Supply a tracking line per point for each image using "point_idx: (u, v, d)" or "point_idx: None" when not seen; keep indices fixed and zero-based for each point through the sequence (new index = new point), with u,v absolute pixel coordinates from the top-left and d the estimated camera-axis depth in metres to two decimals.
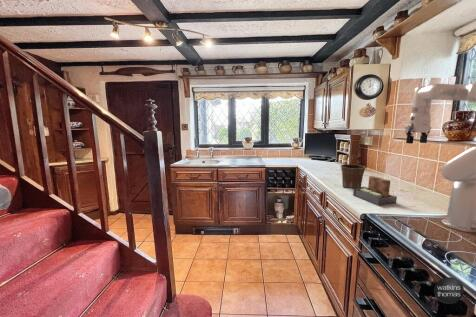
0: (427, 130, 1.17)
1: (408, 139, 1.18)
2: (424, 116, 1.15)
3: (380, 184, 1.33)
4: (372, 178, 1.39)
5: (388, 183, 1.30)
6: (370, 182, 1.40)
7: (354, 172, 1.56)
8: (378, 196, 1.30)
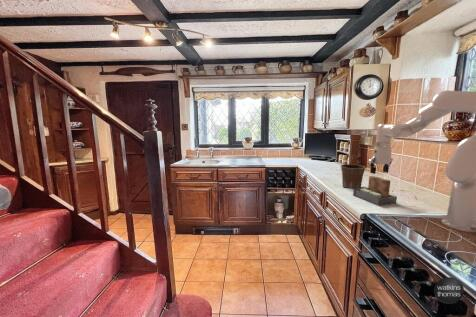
0: (388, 162, 1.32)
1: (371, 170, 1.33)
2: (384, 150, 1.30)
3: (380, 184, 1.33)
4: (372, 178, 1.39)
5: (388, 183, 1.30)
6: (370, 182, 1.40)
7: (354, 172, 1.56)
8: (378, 196, 1.30)
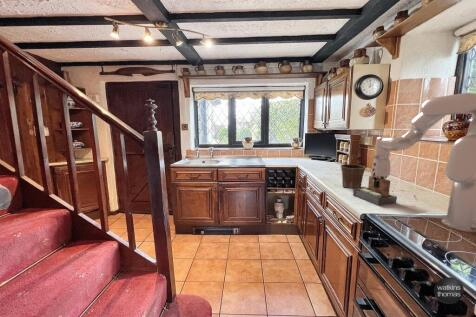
0: (387, 174, 1.33)
1: (375, 184, 1.35)
2: (383, 162, 1.31)
3: (380, 184, 1.33)
4: (372, 178, 1.39)
5: (388, 183, 1.30)
6: (370, 182, 1.40)
7: (354, 172, 1.56)
8: (378, 196, 1.30)
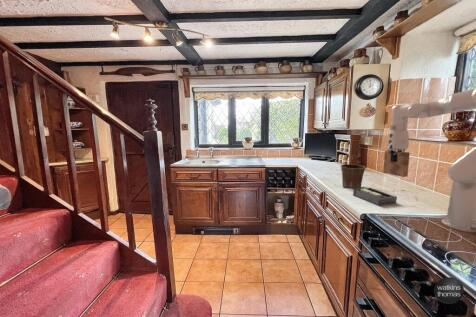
0: (406, 147, 1.21)
1: (392, 157, 1.23)
2: (401, 133, 1.19)
3: (398, 157, 1.21)
4: (388, 152, 1.26)
5: (407, 155, 1.17)
6: (385, 157, 1.28)
7: (354, 172, 1.56)
8: (378, 196, 1.30)
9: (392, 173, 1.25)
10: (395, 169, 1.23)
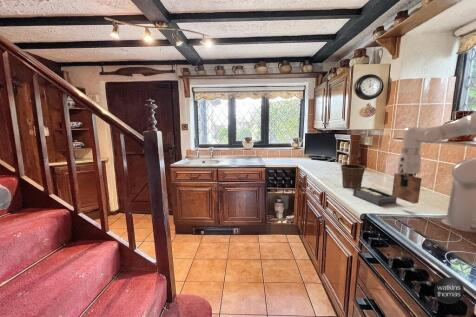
0: (417, 171, 1.14)
1: (402, 182, 1.17)
2: (413, 157, 1.12)
3: (409, 182, 1.14)
4: (398, 175, 1.20)
5: (419, 181, 1.11)
6: (395, 180, 1.22)
7: (354, 172, 1.56)
8: (378, 196, 1.30)
9: (401, 198, 1.19)
10: (405, 194, 1.17)
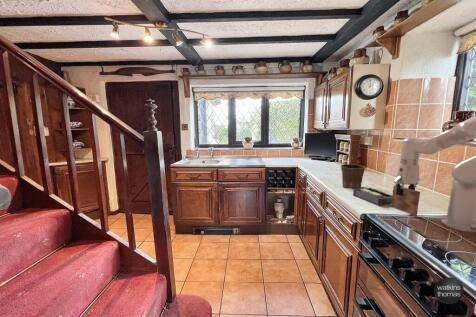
0: (416, 182, 1.15)
1: (398, 191, 1.17)
2: (412, 168, 1.13)
3: (408, 195, 1.16)
4: None
5: (417, 195, 1.13)
6: (394, 193, 1.23)
7: (354, 172, 1.56)
8: (378, 196, 1.30)
9: None
10: (404, 207, 1.18)
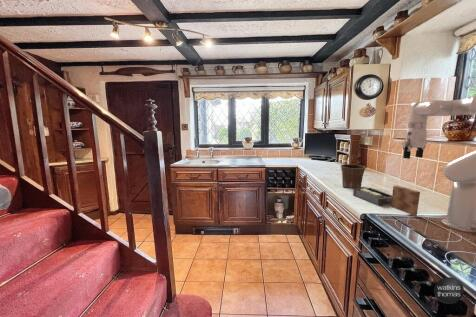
0: (423, 145, 1.17)
1: (405, 154, 1.18)
2: (420, 131, 1.15)
3: (408, 195, 1.16)
4: (397, 188, 1.21)
5: (417, 195, 1.13)
6: (394, 193, 1.23)
7: (354, 172, 1.56)
8: (378, 196, 1.30)
9: None
10: (404, 207, 1.18)
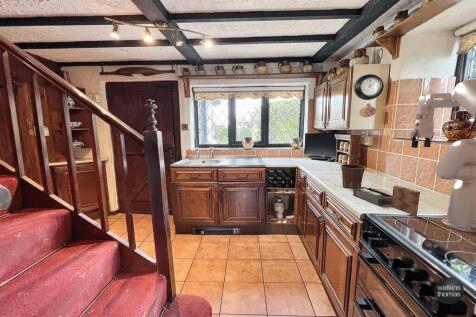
0: (431, 135, 1.27)
1: (413, 144, 1.28)
2: (427, 122, 1.24)
3: (408, 195, 1.16)
4: (397, 188, 1.21)
5: (417, 195, 1.13)
6: (394, 193, 1.23)
7: (354, 172, 1.56)
8: (378, 196, 1.30)
9: None
10: (404, 207, 1.18)
